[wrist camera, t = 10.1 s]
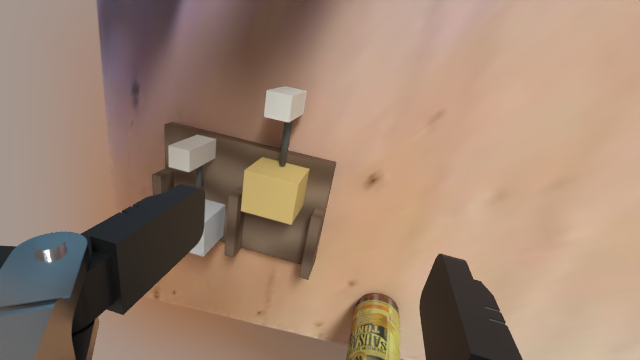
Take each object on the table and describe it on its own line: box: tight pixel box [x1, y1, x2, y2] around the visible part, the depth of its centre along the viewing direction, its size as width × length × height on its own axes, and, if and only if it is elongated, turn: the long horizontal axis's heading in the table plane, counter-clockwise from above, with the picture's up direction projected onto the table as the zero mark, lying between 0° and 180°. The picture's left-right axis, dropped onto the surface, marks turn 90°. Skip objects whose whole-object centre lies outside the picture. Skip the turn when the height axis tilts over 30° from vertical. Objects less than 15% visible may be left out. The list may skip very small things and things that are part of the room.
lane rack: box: [152, 122, 336, 280], centre depth 39 cm, size 15×22×4 cm
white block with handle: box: [168, 135, 225, 257], centre depth 37 cm, size 14×6×6 cm, turn 169°
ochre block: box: [241, 86, 310, 225], centre depth 33 cm, size 14×6×6 cm, turn 169°
